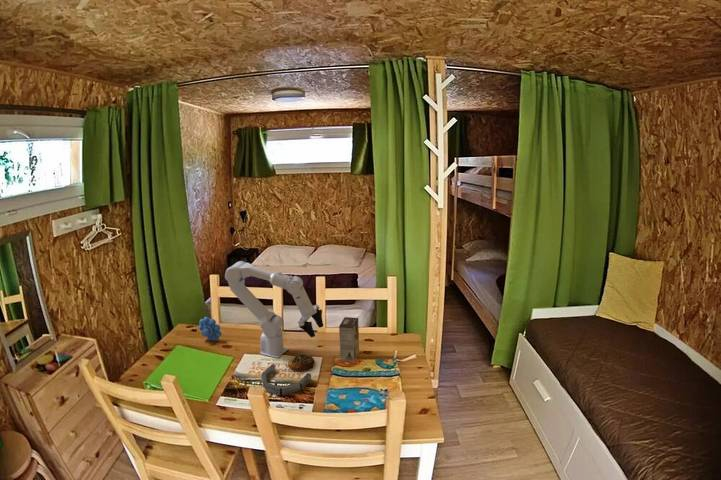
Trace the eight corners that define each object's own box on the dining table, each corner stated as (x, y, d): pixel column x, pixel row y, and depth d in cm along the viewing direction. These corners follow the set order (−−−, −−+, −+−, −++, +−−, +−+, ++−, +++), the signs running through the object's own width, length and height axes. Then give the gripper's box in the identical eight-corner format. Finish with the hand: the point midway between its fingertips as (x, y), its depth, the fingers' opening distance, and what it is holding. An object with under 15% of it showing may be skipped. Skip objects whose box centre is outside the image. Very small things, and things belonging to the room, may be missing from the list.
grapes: (194, 343, 162) (191, 320, 160) (203, 336, 169) (201, 313, 166) (216, 346, 160) (213, 322, 157) (225, 339, 166) (222, 315, 163)
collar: (252, 387, 129) (251, 381, 129) (272, 369, 140) (272, 364, 140) (293, 399, 123) (293, 392, 122) (311, 379, 134) (310, 373, 133)
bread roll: (310, 373, 138) (308, 361, 137) (284, 374, 140) (282, 363, 139) (318, 359, 148) (316, 348, 148) (294, 360, 151) (292, 349, 150)
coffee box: (345, 349, 155) (344, 316, 151) (359, 351, 153) (358, 317, 150) (339, 361, 146) (338, 325, 143) (354, 362, 145) (354, 326, 141)
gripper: (302, 310, 139) (316, 339, 142) (319, 294, 152) (332, 321, 154) (289, 314, 143) (303, 342, 145) (306, 297, 155) (319, 323, 158)
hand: (317, 331), depth 150 cm, fingers open, 7 cm apart
